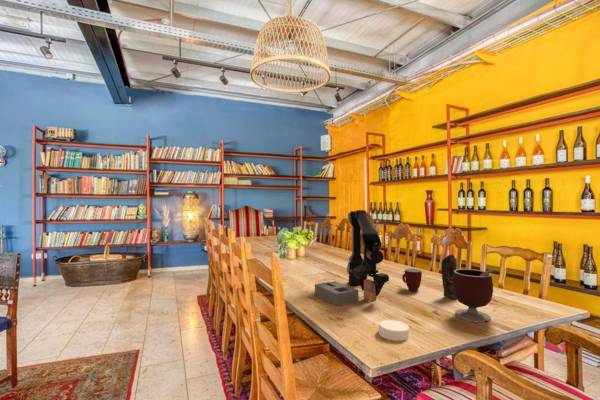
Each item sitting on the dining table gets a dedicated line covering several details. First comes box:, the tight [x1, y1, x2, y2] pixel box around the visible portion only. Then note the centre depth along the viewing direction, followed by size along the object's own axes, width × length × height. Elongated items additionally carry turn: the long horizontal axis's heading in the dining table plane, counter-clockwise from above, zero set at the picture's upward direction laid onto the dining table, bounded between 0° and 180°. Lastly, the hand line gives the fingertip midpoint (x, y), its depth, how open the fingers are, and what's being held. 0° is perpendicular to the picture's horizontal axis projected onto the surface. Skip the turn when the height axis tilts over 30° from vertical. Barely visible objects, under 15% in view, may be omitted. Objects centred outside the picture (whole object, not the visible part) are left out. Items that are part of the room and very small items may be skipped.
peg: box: [363, 278, 377, 303], centre depth 142 cm, size 4×4×9 cm
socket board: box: [314, 280, 359, 307], centre depth 145 cm, size 12×18×5 cm, turn 29°
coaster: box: [378, 319, 410, 342], centre depth 105 cm, size 10×10×4 cm
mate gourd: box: [453, 268, 496, 323], centre depth 121 cm, size 16×14×20 cm
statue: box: [440, 254, 457, 300], centre depth 145 cm, size 7×7×20 cm
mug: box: [401, 268, 423, 292], centre depth 158 cm, size 11×8×10 cm
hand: (370, 293), depth 142 cm, fingers open, 9 cm apart
